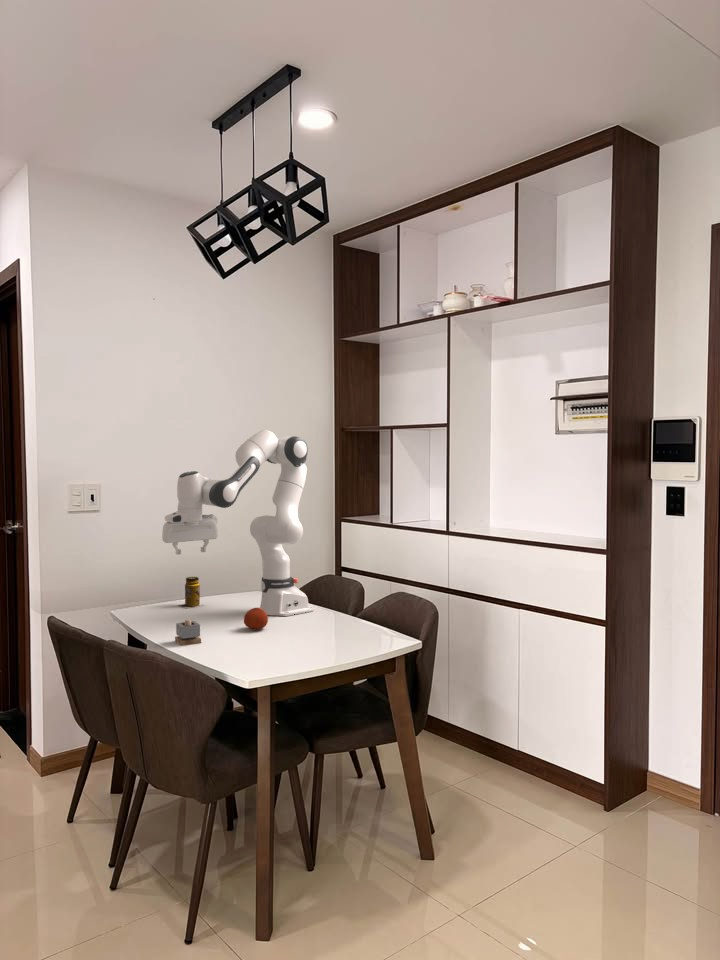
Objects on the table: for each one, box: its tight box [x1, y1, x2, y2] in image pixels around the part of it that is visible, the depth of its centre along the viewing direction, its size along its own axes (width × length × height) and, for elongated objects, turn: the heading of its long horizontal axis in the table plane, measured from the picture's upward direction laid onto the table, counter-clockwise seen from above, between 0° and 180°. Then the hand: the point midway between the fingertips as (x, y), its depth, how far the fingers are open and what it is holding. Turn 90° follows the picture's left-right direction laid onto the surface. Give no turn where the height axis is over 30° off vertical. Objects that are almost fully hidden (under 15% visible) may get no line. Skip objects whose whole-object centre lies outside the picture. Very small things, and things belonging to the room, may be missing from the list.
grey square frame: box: [175, 620, 201, 639], centre depth 254 cm, size 6×6×4 cm
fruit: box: [243, 607, 269, 630], centre depth 272 cm, size 9×9×8 cm
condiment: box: [177, 576, 204, 609], centre depth 310 cm, size 7×8×12 cm
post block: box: [174, 619, 202, 647], centre depth 254 cm, size 7×7×8 cm
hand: (190, 553), depth 272 cm, fingers open, 8 cm apart
